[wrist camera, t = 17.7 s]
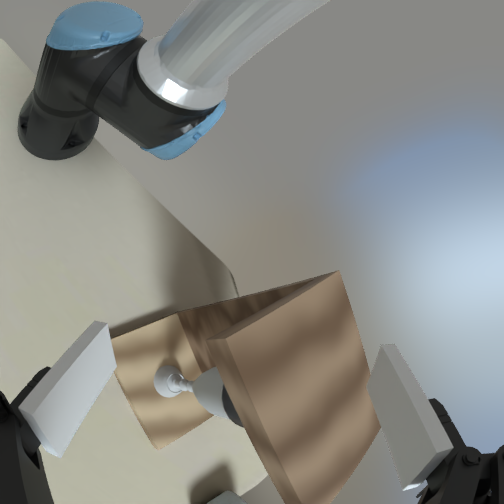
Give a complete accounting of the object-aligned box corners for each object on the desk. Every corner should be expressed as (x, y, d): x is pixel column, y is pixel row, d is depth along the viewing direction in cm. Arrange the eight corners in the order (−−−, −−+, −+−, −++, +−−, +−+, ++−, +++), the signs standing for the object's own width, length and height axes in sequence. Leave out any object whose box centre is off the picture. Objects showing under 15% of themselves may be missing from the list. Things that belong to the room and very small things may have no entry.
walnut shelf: (101, 342, 35) (225, 338, 15) (178, 311, 45) (338, 270, 25) (154, 447, 34) (312, 524, 14) (219, 406, 44) (382, 424, 25)
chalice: (197, 377, 42) (283, 385, 30) (175, 412, 38) (258, 438, 25) (163, 349, 40) (242, 348, 27) (138, 384, 35) (209, 406, 23)
